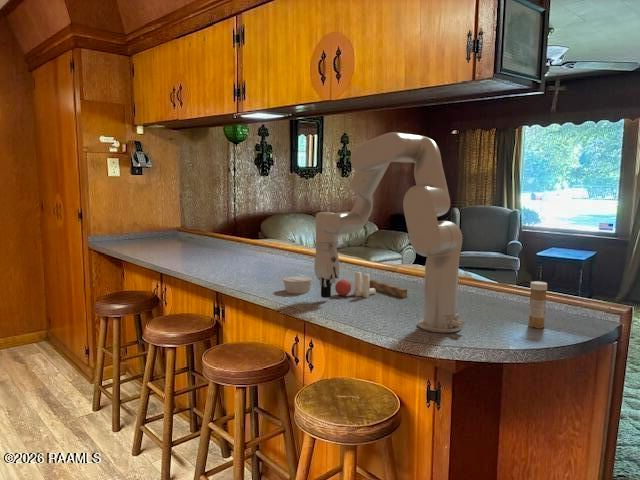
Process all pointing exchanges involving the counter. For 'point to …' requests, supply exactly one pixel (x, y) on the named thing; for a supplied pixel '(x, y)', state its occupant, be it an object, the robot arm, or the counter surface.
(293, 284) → the ramekin
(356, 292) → the front pin
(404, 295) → the walnut rail
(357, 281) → the far pin
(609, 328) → the counter surface
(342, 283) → the ball
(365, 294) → the near pin
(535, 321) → the sprinkles bottle
